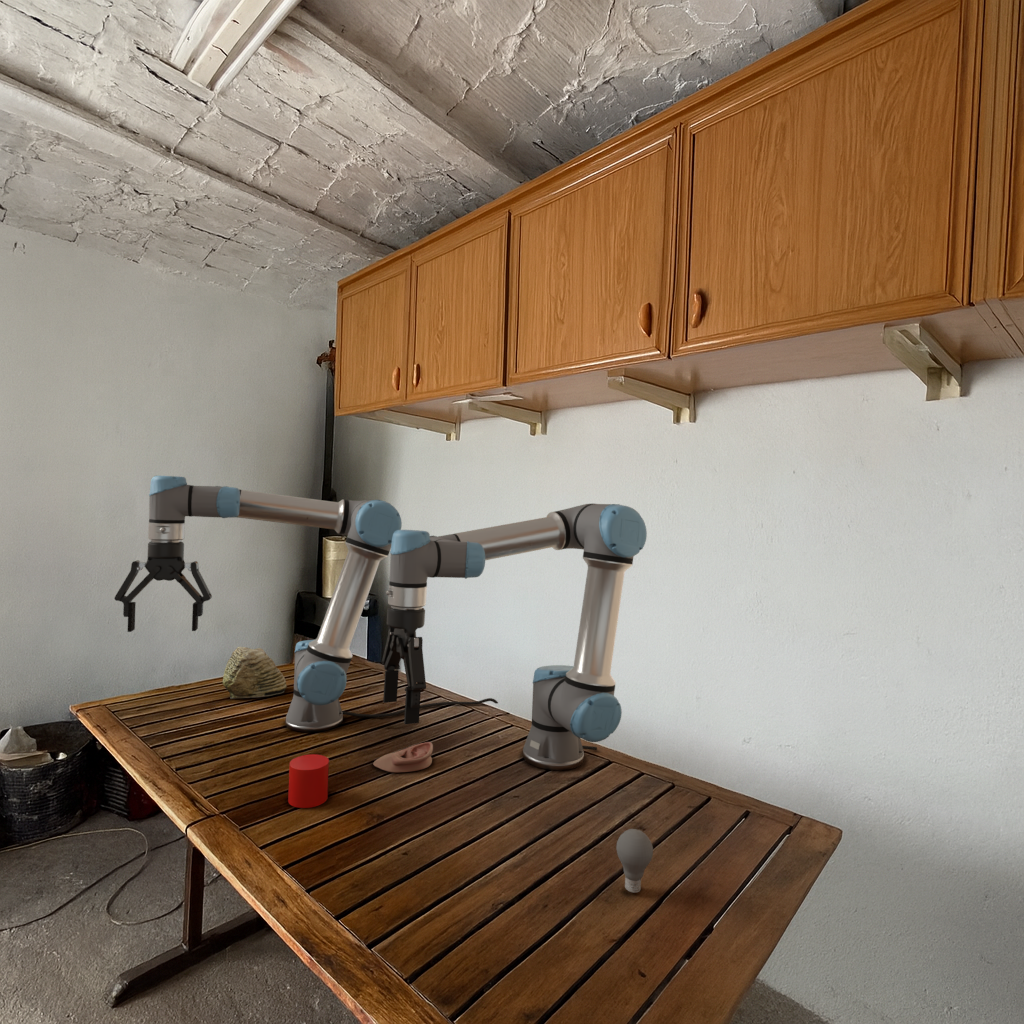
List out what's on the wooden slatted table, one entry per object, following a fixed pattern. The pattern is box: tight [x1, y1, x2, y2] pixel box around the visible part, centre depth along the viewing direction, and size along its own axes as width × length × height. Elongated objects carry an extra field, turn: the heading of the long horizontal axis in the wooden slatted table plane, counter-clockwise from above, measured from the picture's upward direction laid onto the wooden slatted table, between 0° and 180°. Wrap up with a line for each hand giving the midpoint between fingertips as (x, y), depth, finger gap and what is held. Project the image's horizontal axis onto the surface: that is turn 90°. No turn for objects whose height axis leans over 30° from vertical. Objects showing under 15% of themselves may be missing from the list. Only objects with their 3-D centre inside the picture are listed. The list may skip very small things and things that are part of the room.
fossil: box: [222, 646, 288, 699], centre depth 198 cm, size 9×18×15 cm, turn 132°
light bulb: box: [615, 828, 654, 894], centre depth 106 cm, size 6×6×10 cm
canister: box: [287, 753, 330, 809], centre depth 133 cm, size 8×8×8 cm
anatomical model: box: [372, 741, 434, 773], centre depth 152 cm, size 13×4×12 cm
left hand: (163, 630), depth 150 cm, fingers open, 13 cm apart
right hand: (400, 712), depth 127 cm, fingers open, 13 cm apart
